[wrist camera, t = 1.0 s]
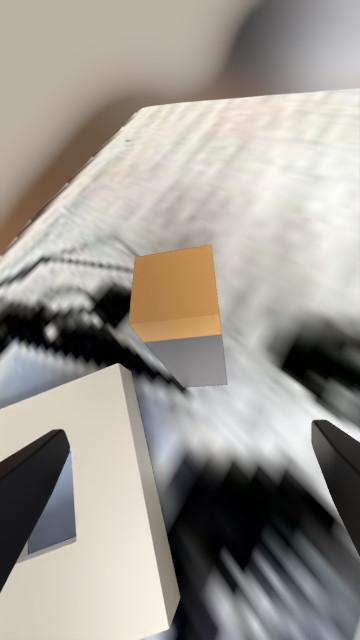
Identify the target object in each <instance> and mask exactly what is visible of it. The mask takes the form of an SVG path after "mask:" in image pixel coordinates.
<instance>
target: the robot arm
mask: <svg viewBox="0 0 360 640" xmlns="http://www.w3.org/2000/svg"><path fill="white" fill-rule="evenodd" d="M312 446H313V449H314V452H315V455H316V457H317V460H318V463H319V465H320V468H321V471H322V473H323V476H324V479H325V481H326V484H327V487H328V489H329V492H330V495H331V497H332V500H333V502H334V504H335V506H336V509H337V511H338V513H339V515H340V517H341V519H342V521H343V523H344V525H345V527H346V529H347V531H348V533H349V535H350V537H351V540H352V542H353V544H354V546H355V548H356V550H357V552H358V554H359V556H360V442H358V441H357V440H355V439H354V438H352V437H351V436H349V435H348V434H347V433H345V432H344V431H342V430H341V429H339V428H338V427H336V426H335V425H333V424H332V423H330V422H329V421H327V420H313V421H312ZM69 452H70V444H69V441H68V438H67V435H66V433H65V431H64V430H63V429H53V430H51V431H49V432H48V433H46V434H44V435H43V436H41V437H40V438H38V439H36V440H35V441H33V442H32V443H30V444H28V445H27V446H25V447H23V448H22V449H20V450H19V451H17V452H15V453H14V454H12V455H11V456H9V457H7V458H6V459H4V460H2V461H1V462H0V593H1V591H2V589H3V587H4V585H5V583H6V581H7V579H8V577H9V575H10V574H11V572H12V570H13V568H14V566H15V564H16V562H17V560H18V558H19V556H20V554H21V552H22V550H23V549H24V547H25V545H26V543H27V541H28V539H29V537H30V535H31V533H32V531H33V529H34V527H35V526H36V524H37V522H38V520H39V518H40V516H41V514H42V512H43V510H44V508H45V506H46V504H47V502H48V500H49V498H50V496H51V494H52V492H53V490H54V488H55V485H56V483H57V481H58V478H59V476H60V473H61V471H62V469H63V466H64V464H65V462H66V459H67V457H68V455H69Z"/></svg>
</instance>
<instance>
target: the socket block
mask: <svg viewBox="0 0 360 640" xmlns="http://www.w3.org/2000/svg"><path fill="white" fill-rule="evenodd" d="M53 429H63V430H64V431H65V433H66V435H67V438H68V441H69V444H70V451H71V458H72V474H73V490H74V507H75V523H76V537H73V538H71V539H68V540H65V541H63V542H60V543H57V544H55V545H52V546H49V547H47V548H44V549H41V550H39V551H36V552H33V553H31V554H28V541H27V543H26V545H25V547H24V549H23V550H22V552H21V554H20V556H19V558H18V560H17V562H16V564H15V566H14V568H13V570H12V572H11V574H10V575H9V577H8V579H7V581H6V583H5V585H4V587H3V589H2V591H1V593H0V640H140V639H143V638H146V637H148V636H151V635H154V634H157V633H159V632H162V631H165V630H168V629H169V628H170V625H171V622H172V619H173V617H174V614H175V611H176V608H177V605H178V602H179V600H180V594H179V589H178V585H177V580H176V575H175V571H174V566H173V562H172V557H171V552H170V548H169V543H168V539H167V534H166V529H165V525H164V520H163V516H162V511H161V506H160V502H159V497H158V492H157V488H156V483H155V479H154V474H153V469H152V465H151V460H150V456H149V451H148V446H147V442H146V437H145V433H144V428H143V423H142V419H141V414H140V409H139V405H138V400H137V396H136V391H135V386H134V382H133V377H132V373H131V371H129V370H128V369H126V368H125V367H124V366H122V365H121V364H119V363H117V364H114V365H112V366H109V367H107V368H104V369H102V370H99V371H96V372H94V373H91V374H89V375H86V376H84V377H81V378H79V379H76V380H73V381H71V382H68V383H66V384H63V385H61V386H58V387H56V388H53V389H50V390H48V391H45V392H43V393H40V394H38V395H35V396H33V397H30V398H27V399H25V400H22V401H20V402H17V403H15V404H12V405H10V406H7V407H4V408H2V409H0V462H1V461H2V460H4V459H6V458H7V457H9V456H11V455H12V454H14V453H15V452H17V451H19V450H20V449H22V448H23V447H25V446H27V445H28V444H30V443H32V442H33V441H35V440H36V439H38V438H40V437H41V436H43V435H44V434H46V433H48V432H49V431H51V430H53Z"/></svg>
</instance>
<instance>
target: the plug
mask: <svg viewBox="0 0 360 640" xmlns="http://www.w3.org/2000/svg"><path fill="white" fill-rule="evenodd" d="M129 326H130V327H131V328H132V329H133V331H134V332H135V333H136V334H137V335H138V336H139V337H140V339H141V340H142V341H143V342H144V343H145V344H146V345H147V347H148V348H149V349H150V350H151V351H152V352H153V353H154V354H155V356H156V357H157V358H158V359H159V360H160V361H161V362H162V364H163V365H164V366H165V367H166V368H167V369H168V370H169V372H170V373H171V374H172V375H173V376H174V377H175V378H176V379H177V381H178V382H179V383H180V384H181V385H182V386H183V387H199V386H214V385H227V377H226V368H225V359H224V350H223V341H222V332H221V323H220V314H219V306H218V297H217V289H216V280H215V272H214V263H213V255H212V246H211V245H206V246H200V247H194V248H188V249H182V250H176V251H170V252H164V253H158V254H152V255H146V256H140V257H135V263H134V273H133V284H132V294H131V305H130V315H129Z"/></svg>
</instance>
